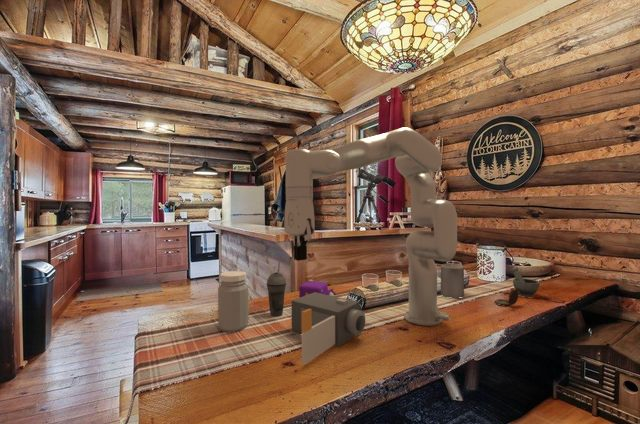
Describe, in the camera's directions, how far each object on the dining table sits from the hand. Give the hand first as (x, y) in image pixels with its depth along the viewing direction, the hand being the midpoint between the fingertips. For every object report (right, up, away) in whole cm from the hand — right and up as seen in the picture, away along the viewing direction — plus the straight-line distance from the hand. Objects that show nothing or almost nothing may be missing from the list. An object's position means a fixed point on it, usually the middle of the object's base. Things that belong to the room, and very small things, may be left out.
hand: (300, 259), depth 85 cm
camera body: (+9, -25, +10) cm, 28 cm away
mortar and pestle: (+98, -25, +52) cm, 114 cm away
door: (+5, -24, -4) cm, 25 cm away
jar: (-23, -25, +16) cm, 38 cm away
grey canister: (+65, -25, +52) cm, 87 cm away
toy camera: (+5, -25, +36) cm, 44 cm away
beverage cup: (-11, -25, +28) cm, 39 cm away
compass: (+81, -25, +38) cm, 93 cm away
